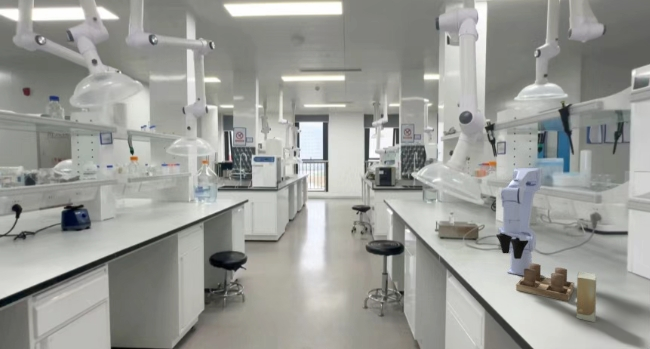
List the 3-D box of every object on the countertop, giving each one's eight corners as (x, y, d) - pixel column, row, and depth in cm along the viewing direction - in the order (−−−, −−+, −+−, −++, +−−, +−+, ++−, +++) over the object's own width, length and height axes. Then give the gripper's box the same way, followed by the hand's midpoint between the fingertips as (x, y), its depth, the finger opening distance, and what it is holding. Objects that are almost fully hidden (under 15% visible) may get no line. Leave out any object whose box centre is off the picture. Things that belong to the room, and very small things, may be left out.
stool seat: (526, 279, 132) (526, 260, 132) (574, 288, 122) (574, 268, 122) (516, 290, 121) (516, 270, 121) (568, 301, 111) (568, 279, 111)
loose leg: (525, 287, 124) (525, 267, 124) (536, 289, 121) (536, 269, 121) (522, 289, 121) (522, 270, 121) (533, 292, 119) (534, 272, 119)
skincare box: (577, 311, 104) (578, 270, 103) (595, 315, 101) (596, 273, 101) (576, 318, 99) (576, 276, 98) (595, 323, 96) (596, 279, 96)
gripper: (490, 216, 136) (490, 251, 136) (512, 223, 121) (512, 261, 121) (508, 216, 136) (508, 250, 136) (532, 222, 121) (531, 260, 122)
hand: (511, 255), depth 129 cm, fingers open, 7 cm apart
